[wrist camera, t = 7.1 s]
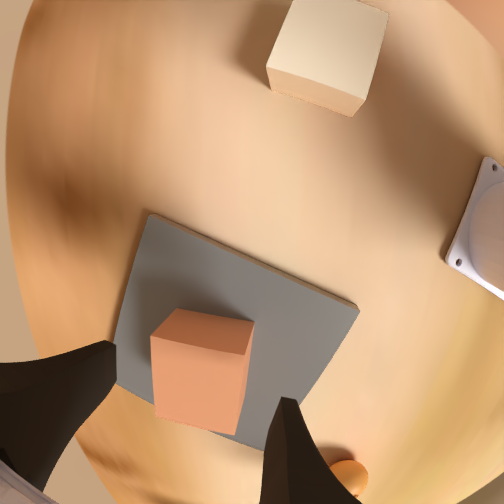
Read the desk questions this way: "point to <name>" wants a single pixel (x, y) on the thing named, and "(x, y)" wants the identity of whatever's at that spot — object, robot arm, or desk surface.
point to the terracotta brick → (201, 369)
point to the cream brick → (327, 53)
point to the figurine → (351, 475)
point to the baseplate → (231, 306)
